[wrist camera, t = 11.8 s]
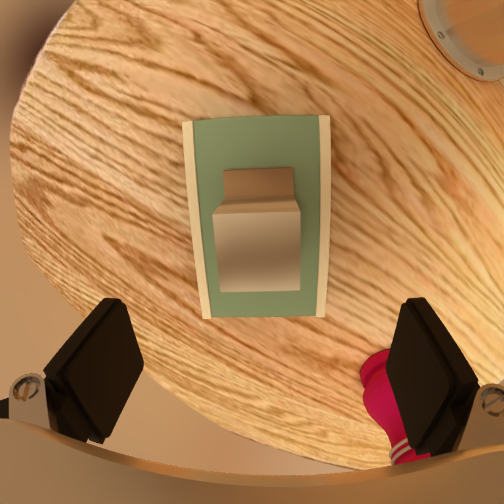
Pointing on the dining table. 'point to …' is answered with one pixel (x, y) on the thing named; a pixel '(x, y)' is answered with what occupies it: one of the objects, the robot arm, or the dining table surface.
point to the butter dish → (258, 231)
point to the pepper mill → (386, 408)
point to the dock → (305, 192)
